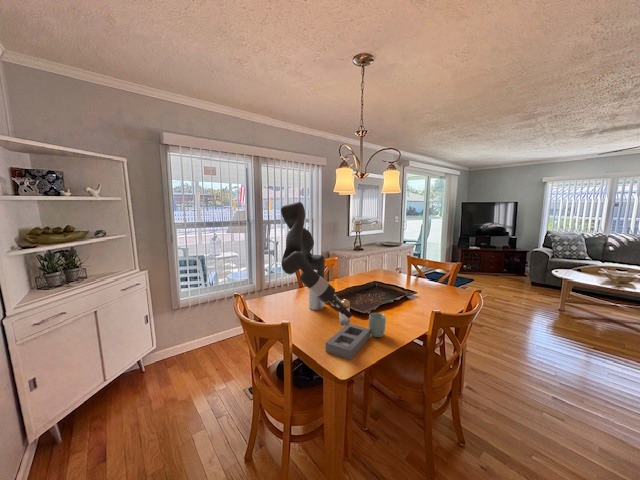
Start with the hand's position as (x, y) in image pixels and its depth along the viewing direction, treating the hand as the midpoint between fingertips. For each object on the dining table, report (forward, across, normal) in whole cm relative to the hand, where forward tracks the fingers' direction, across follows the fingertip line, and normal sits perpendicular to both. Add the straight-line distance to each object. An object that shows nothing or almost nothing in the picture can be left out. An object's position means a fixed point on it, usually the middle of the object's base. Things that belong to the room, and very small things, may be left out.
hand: (348, 313), depth 112 cm
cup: (+23, +9, 0) cm, 25 cm away
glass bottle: (+1, 0, +4) cm, 5 cm away
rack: (+12, +4, +10) cm, 17 cm away
